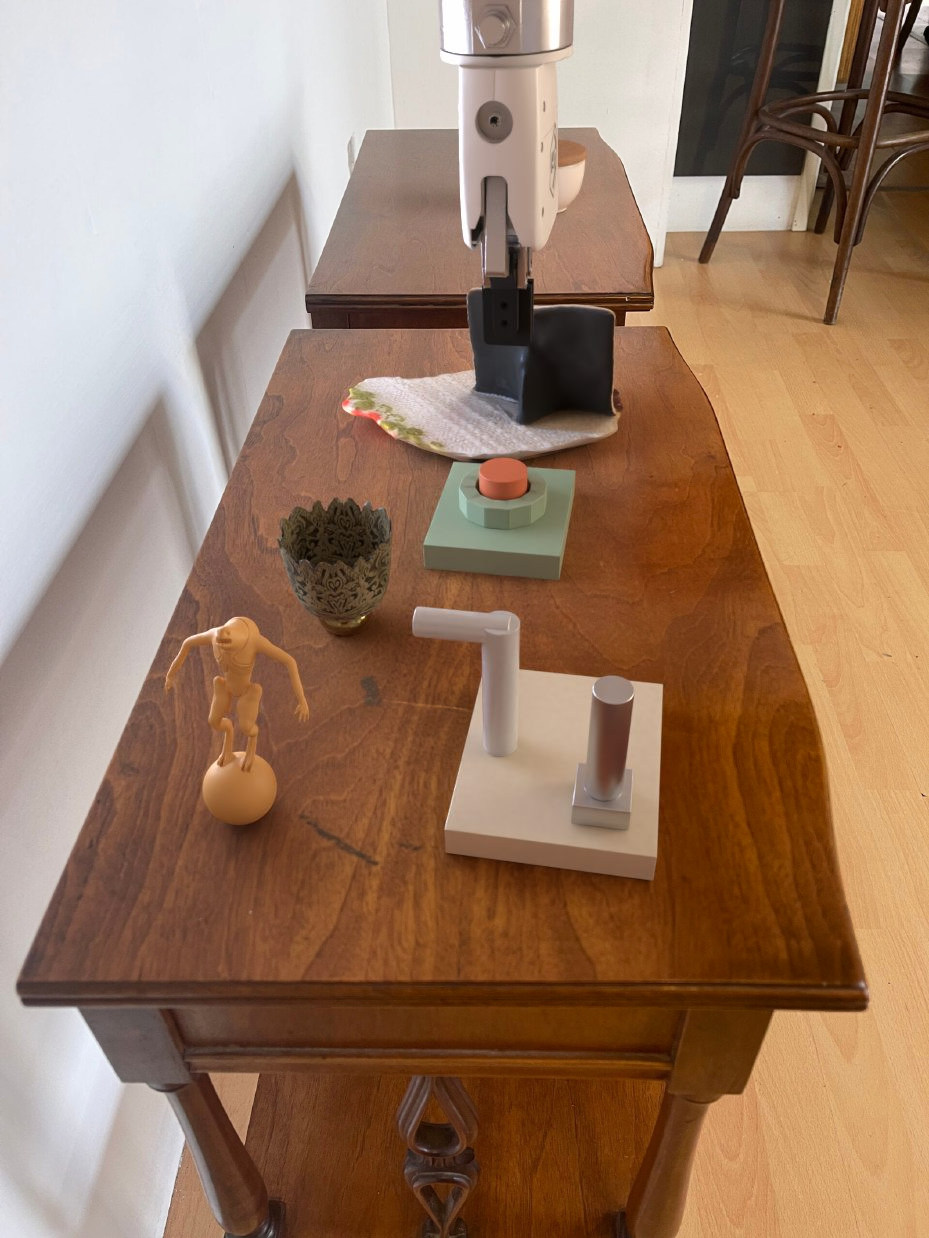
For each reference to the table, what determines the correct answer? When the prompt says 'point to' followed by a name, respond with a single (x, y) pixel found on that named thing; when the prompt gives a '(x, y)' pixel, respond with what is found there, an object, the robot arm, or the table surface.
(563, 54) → the robot arm
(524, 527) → the button block
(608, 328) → the religious ornament
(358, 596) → the cup
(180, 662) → the figurine
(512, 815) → the tap base
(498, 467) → the button
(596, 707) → the tap lever
